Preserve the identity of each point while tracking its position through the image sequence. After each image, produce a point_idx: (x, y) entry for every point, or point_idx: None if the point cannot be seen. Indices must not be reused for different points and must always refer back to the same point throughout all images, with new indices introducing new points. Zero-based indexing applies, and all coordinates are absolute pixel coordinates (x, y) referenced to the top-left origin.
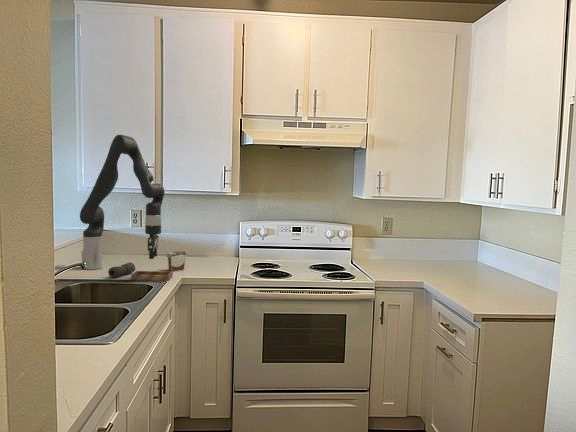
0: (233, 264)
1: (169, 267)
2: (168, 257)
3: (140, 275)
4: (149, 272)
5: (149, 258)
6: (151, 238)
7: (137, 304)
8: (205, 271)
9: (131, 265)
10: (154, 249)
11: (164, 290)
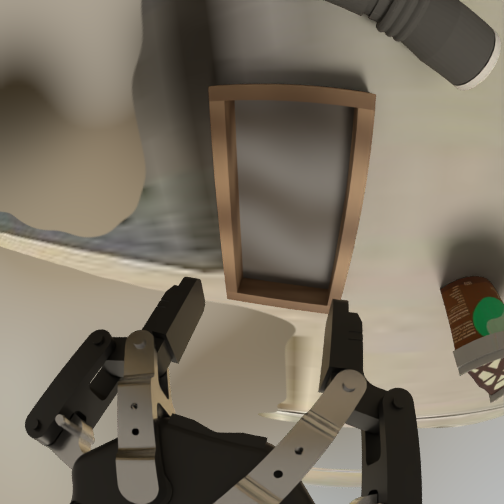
0: (469, 408)
1: (461, 296)
2: (466, 344)
3: (212, 149)
4: (348, 191)
5: (184, 279)
6: (63, 457)
7: (6, 216)
8: (410, 378)
9: (438, 53)
10: (323, 379)
11: (95, 263)
